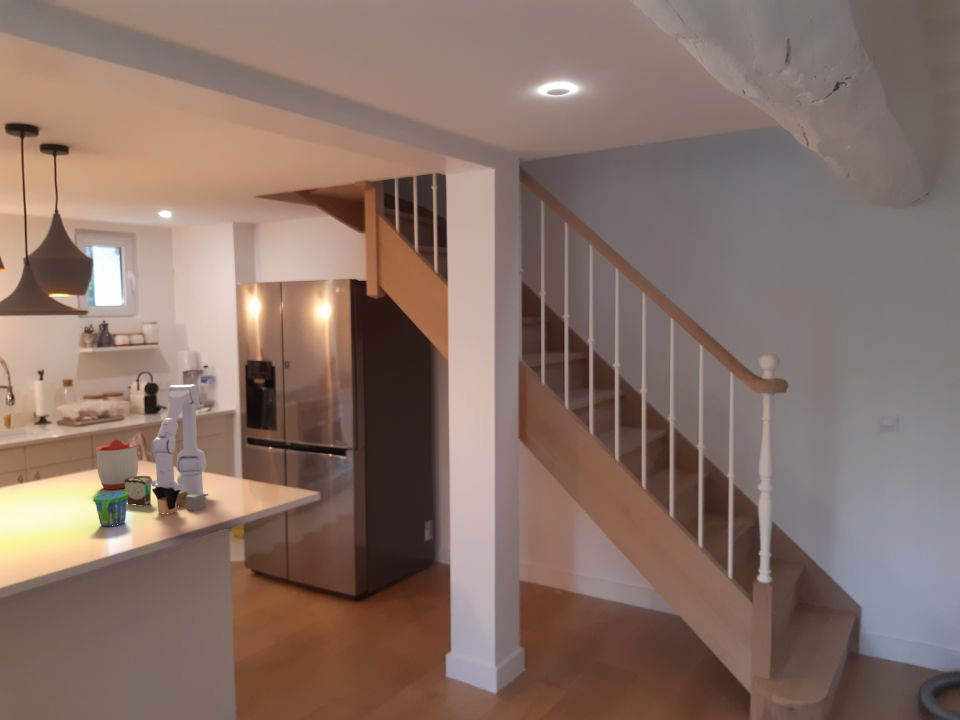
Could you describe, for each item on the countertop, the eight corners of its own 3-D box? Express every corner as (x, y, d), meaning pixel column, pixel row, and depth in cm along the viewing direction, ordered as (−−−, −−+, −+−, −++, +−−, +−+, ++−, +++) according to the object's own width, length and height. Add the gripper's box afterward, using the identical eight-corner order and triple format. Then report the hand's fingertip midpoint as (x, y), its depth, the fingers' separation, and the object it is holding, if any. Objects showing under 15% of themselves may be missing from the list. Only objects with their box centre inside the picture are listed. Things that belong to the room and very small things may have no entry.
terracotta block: (158, 513, 262) (157, 499, 262) (169, 509, 266) (168, 496, 265) (165, 514, 260) (164, 500, 259) (177, 511, 263) (176, 497, 263)
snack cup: (119, 530, 243) (117, 500, 242) (86, 531, 242) (84, 501, 241) (137, 516, 258) (135, 488, 257) (106, 518, 257) (104, 489, 256)
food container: (161, 502, 276) (159, 476, 276) (148, 506, 271) (146, 480, 270) (138, 499, 282) (136, 474, 281) (124, 504, 276) (122, 477, 275)
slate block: (186, 509, 266) (185, 496, 266) (197, 506, 270) (196, 493, 269) (194, 511, 263) (193, 497, 263) (205, 508, 267) (204, 494, 267)
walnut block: (170, 506, 271) (169, 492, 271) (180, 503, 275) (180, 490, 275) (177, 507, 269) (176, 494, 269) (188, 504, 273) (187, 491, 272)
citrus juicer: (151, 483, 309) (148, 436, 307) (112, 492, 294) (108, 443, 292) (129, 479, 317) (126, 433, 315) (90, 488, 302) (86, 440, 301)
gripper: (142, 470, 262) (145, 507, 263) (167, 474, 254) (169, 513, 255) (160, 466, 268) (163, 503, 269) (185, 470, 260) (187, 508, 261)
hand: (167, 507), depth 263 cm, fingers closed on terracotta block, 4 cm apart
